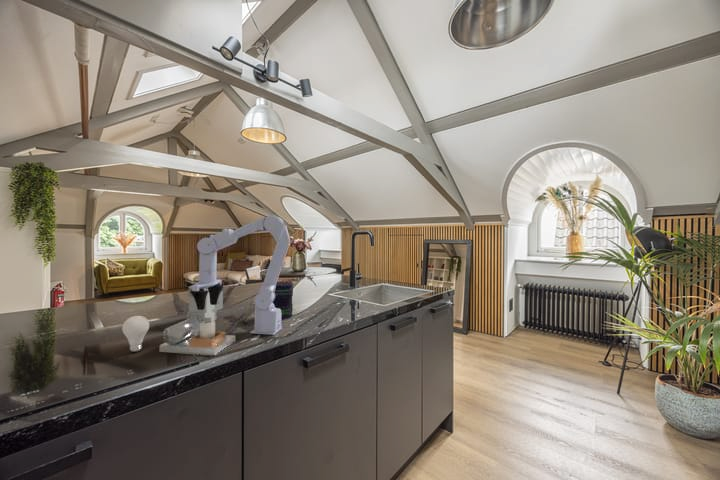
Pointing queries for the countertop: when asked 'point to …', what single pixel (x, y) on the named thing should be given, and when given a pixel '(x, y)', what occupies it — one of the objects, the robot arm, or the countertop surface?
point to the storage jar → (284, 299)
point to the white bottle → (207, 329)
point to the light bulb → (135, 331)
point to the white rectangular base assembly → (193, 339)
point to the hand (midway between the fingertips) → (207, 307)
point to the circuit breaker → (208, 310)
